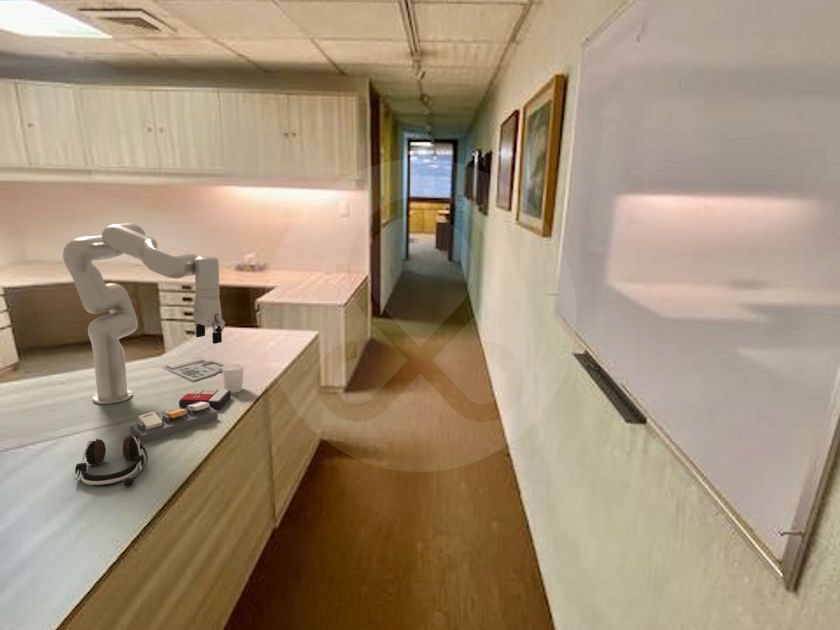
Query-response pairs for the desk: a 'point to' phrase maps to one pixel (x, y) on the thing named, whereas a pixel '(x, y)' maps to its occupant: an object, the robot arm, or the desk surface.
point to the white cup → (233, 377)
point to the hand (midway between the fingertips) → (208, 339)
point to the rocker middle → (175, 413)
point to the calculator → (206, 398)
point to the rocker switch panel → (174, 424)
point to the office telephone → (194, 369)
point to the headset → (97, 455)
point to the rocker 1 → (150, 420)
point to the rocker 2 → (198, 406)
